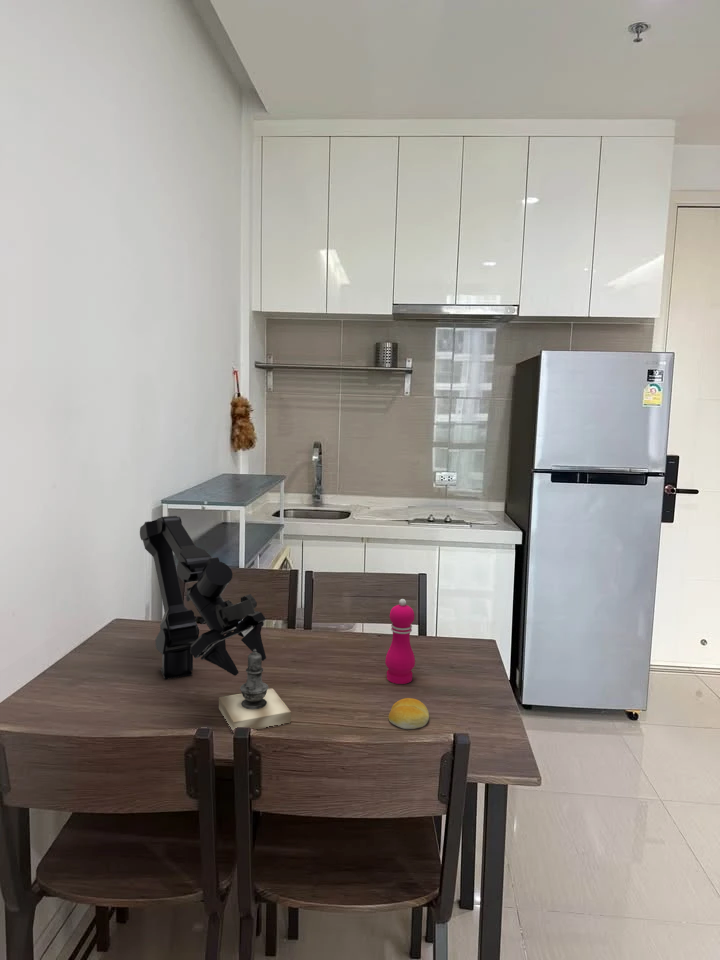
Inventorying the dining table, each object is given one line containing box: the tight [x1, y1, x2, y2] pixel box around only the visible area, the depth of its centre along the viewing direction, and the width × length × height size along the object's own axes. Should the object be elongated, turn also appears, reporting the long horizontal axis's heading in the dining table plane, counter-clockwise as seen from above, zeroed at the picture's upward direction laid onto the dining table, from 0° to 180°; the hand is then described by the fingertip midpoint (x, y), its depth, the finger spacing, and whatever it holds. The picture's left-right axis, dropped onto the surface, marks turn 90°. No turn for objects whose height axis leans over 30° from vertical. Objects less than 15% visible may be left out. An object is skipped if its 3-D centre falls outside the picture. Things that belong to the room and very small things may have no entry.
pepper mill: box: [385, 598, 416, 685], centre depth 156 cm, size 7×7×20 cm
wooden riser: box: [218, 688, 292, 730], centre depth 136 cm, size 12×12×2 cm
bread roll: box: [387, 697, 430, 730], centre depth 136 cm, size 8×9×4 cm
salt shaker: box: [239, 649, 269, 709], centre depth 135 cm, size 6×6×12 cm
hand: (251, 666), depth 135 cm, fingers open, 9 cm apart
